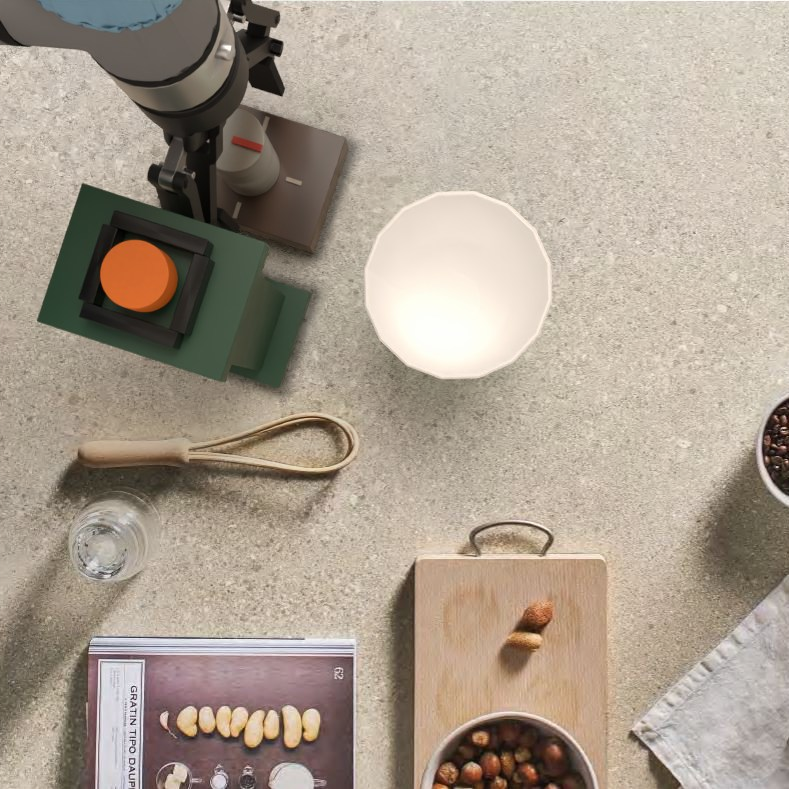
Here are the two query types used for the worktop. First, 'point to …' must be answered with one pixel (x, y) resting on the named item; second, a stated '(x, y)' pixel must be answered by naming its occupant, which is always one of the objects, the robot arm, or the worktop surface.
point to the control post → (177, 293)
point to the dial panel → (290, 184)
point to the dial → (247, 156)
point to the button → (138, 276)
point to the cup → (457, 285)
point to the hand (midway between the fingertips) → (246, 156)
